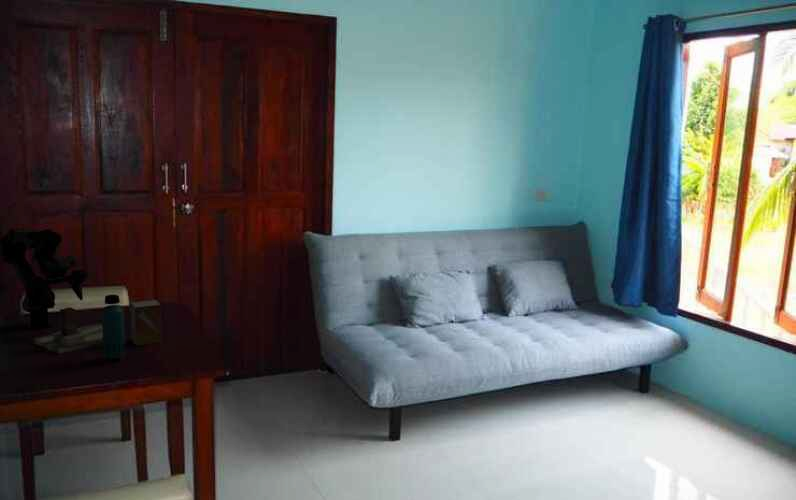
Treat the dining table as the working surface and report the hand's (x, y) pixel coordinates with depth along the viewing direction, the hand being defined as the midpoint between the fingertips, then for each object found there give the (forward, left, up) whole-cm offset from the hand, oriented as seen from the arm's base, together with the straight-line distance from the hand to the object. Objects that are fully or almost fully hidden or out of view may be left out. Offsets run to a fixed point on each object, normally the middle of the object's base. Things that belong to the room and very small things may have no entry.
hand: (68, 302), depth 223 cm
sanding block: (+6, -4, -11) cm, 13 cm away
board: (+2, +2, -13) cm, 13 cm away
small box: (+19, +15, -13) cm, 28 cm away
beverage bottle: (+26, -1, -13) cm, 29 cm away
